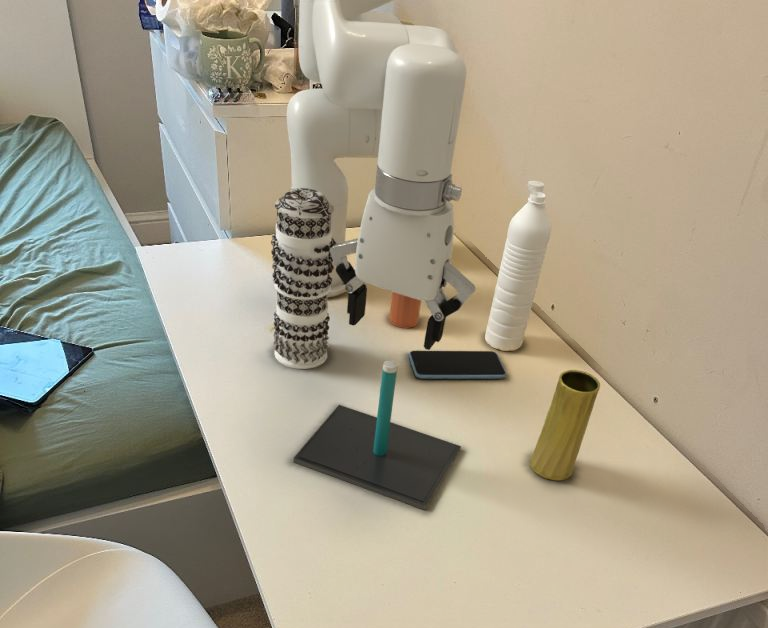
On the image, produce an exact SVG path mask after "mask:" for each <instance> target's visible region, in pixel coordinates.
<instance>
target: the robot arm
mask: <svg viewBox="0 0 768 628" xmlns="http://www.w3.org/2000/svg"><path fill="white" fill-rule="evenodd" d="M393 1H394V0H299V9H298V41H297V43H298V44H297V45H298V62H299V67H300V70H301V72H302V74H303V75H304V76H305V78H306V79H308V80H310V81H312V82H315V83H319V84H321V87H322V88H307V89H303V90H300V91H298V92H296V93H295V94H293V95H292V96H291V97H290V99H289V101H288V104H287V106H286V128H287V135H288V143H289V153H290V166H291V167H290V170H291V171H290V172H291V189H290V190H292V189H297V188H307V189H312V190H316V191H318V192H321V193H322V194H323V195H324V196H325V197H326V198H327V200H328V201H329V202H330V203H331V204H332V205H333V206H334V211H333V212H332V213H331V225H330V226H331V229H332V238H333V239H334V241H335V242H336V244H335V245H334V246H333V247H331V248H330V254H331V257H332V259H333V262H331V263H332V265H333V266H334V269H333V271H332V272H331V273H329V275H330V277H331V278H332V282H331V290H330V291H329V293H328V294H327V298H332V297H337V296H340V295H342V294H344V293H347V306H346V313H347V314H348V315H349V317H348V325H349V326H353V327H354V326H356V325H357V324H358V323H359V322H360V321H361V320H362V319H363V318H364V316H365V314H366V306H367V296H368V287H367V285H369V286H373V287H376V288H379V289H382V290H385V291H388V292H391V293H392V292H394V293H398V294H401V295H404V296H408V297H411V298H414V299H418V300H421V302H422V301H423V302H425V304H426V307H427V308H428V310H429V312H430V313H431V315H430V316H429V318H428V319H427V324H426V330H425V334H424V335H425V336H424V342H423V348H424V349H425V350H426V351H431V349H432V347H433V346H434V344H435V343H439V342H440V341H441V340H442V338H443V335H444V331H445V330H444V329H445V324H446V318H447V317H448V316H450V315H452V314H454V313H455V312H458V311H459V310H460V308H461V307H462V306H463V305H465V303H466V302H467V301H468V300H469V298H471V296H472V295H473V293H475V291H476V285H475V284H474V283H473V282H472V281H471V280H470V279H469V278H467V277H466V276H465V275H464V274H463V273H462V272H461V271H460V270H458V269H457V268H456V267H455V266H454V265H453V264H452V257H453V246H454V230H455V229H454V228H455V216H454V215H455V214H454V204H453V203H452V202H451V201H455V202H459V200H460V199H461V196H462V190H463V189H462V187H460V186H456V184H455V183H453V174H452V172H451V171H452V166H453V159H454V155H455V154H454V153H455V147H456V142H457V135H458V130H459V124H460V117H461V111H462V106H463V105H462V104H463V98H464V92H465V87H466V79H467V67H466V63H465V61H464V59H463V58H462V56H461V55H460V54H459V50H458V49H457V48H456V45H455V42H454V40H453V38H452V36H451V35H450V34H449V33H448V32H447V31H446V30H444V29H442V28H438V27H435V26H427V25H413V24H412V25H411V24H403V23H402V22H401V21H400V19H399V18H398V17H397V16H395V15H394V14H393V13H390V12H387V11H378V10H375V9H377V8H380V7H382V6H384V5H387V4H389V3H390V2H393ZM343 158H353V159H355V158H359V159H360V158H361V159H370V158H371V159H376V158H377V165H376V174H375V175H376V176H375V184H374V187H373V188H371V190H370V191H369V193H368V196H367V199H366V203H365V206H364V210H363V214H362V218H361V222H360V227H359V230H358V238H354V239H350V240H346V234H347V218H348V204H349V203H348V202H349V185H348V180H347V178H346V176H345V173H343V170H341V168H340V167H339V165H338V163H336V161H335V160H336V159H343ZM448 200H449V202H448ZM329 245H330V244H329ZM276 254H277V255H278V252H276ZM353 254H355V257H354V258H355V259H354V267H353V265H352V263H350V261H349V260H348V256H349V255H353ZM328 258H329V257H328ZM273 261H274V260H273V259H272V262H273ZM448 284H449V285H451V287H453V288H454V289H455V290H456V292H457V294H456V295H455V296H453V297H451V298H448V296H447V294H446V292H445V290H444V288H446V287H447V285H448Z"/></svg>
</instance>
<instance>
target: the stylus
mask: <svg viewBox="0 0 768 628" xmlns="http://www.w3.org/2000/svg"><path fill="white" fill-rule="evenodd" d="M398 366H399V364H398V362H397V361H395V360H392V359H387V360H385V361H383V363H382V371H381V381H380V389H379V397H378V406H377V416H376V417H377V423H376V431H375V440H374V449H373V452H374V454H376V455H378V456H383V455H385V454H386V452H387V444H388V436H389V429H390V422H391V420H392V412H393V405H394V396H395V388H396V382H397V374H398V368H399V367H398Z"/></svg>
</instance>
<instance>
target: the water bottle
mask: <svg viewBox="0 0 768 628" xmlns="http://www.w3.org/2000/svg"><path fill="white" fill-rule="evenodd" d="M544 188H545V183H544V182H542V181H540V180H528V181H527V185H526V189H527V191H529V192H530V193H529V196H528V198H527V202H526V203H525V204H524V206H522V207H521V208H520V209H519V210H518V211H517V212H516V213H515V214H514V215H513V217H512V218H511V220H510V222H509V224H508V228H507V234H506V239H505V243H504V248H503V253H502V258H501V263H500V267H499V271H498V275H497V282H496V284H495V288H494V294H493V297H492V302H491V303H492V304H491V307H490V311H489V312H490V313H489V316H488V321H487V326H486V329H485V334H484V340H485V343H486V344H488V345H489V346H490V347H492V348H493V349H497V350H500V351H505V352H509V351H511V352H512V351H516V350H518V349H519V348H521V347H522V345H523V342H524V339H525V334H526V330H527V327H528V321H529V318H530V315H531V310H532V307H533V304H534V299H535V295H536V292H537V291H536V289H538V285H539V280H540V276H541V272H542V268H543V264H544V260H545V256H546V253H547V249H548V244H549V242H550V239H551V234H552V222H551V219H550V217H549V214H548V212H547V209H546V206H545V204H546V203H547V201H546V198H547V195H546V194H545V193H543V191H544Z"/></svg>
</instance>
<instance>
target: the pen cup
mask: <svg viewBox="0 0 768 628" xmlns="http://www.w3.org/2000/svg"><path fill="white" fill-rule="evenodd" d="M391 293H392V294H391V300H390V307H389V308H390V309H389V319H388V320H389V322H390V324H392V325H393V326H395V327H398V328H401V329H402V328H403V329H410V328H414V327H416V326H417V325H418V323H419V320H420V319H419V318H420V310H421V304H422V300H418V299H414V298H411V297H408V296H404V295H401V294H398V293H394V292H391Z"/></svg>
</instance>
